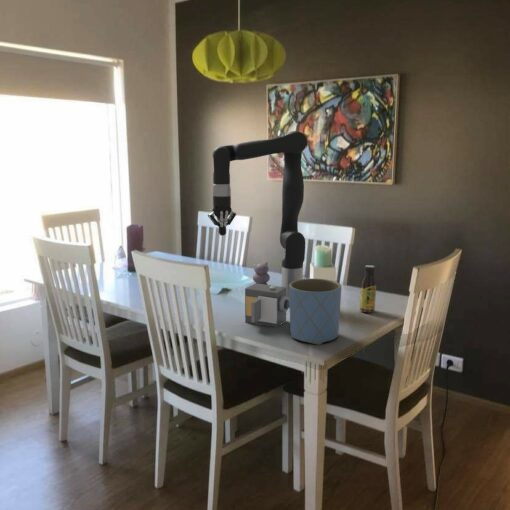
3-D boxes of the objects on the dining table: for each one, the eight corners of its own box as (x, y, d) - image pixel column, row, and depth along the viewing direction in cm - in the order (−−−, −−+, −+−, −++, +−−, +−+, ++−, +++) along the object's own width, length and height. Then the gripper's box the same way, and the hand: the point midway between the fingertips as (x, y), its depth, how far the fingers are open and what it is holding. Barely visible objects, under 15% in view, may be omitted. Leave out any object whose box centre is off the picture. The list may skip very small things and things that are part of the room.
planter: (308, 324, 220) (309, 275, 216) (349, 335, 208) (351, 284, 204) (278, 337, 206) (278, 285, 202) (320, 350, 194) (322, 295, 190)
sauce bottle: (367, 314, 232) (369, 268, 227) (356, 310, 237) (358, 265, 233) (378, 312, 235) (380, 266, 231) (367, 308, 240) (369, 263, 236)
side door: (251, 324, 214) (251, 300, 212) (259, 320, 219) (258, 295, 217) (269, 328, 210) (269, 302, 208) (277, 323, 216) (277, 298, 214)
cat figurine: (256, 289, 270) (256, 265, 267) (250, 285, 277) (250, 262, 275) (272, 287, 273) (272, 264, 271) (266, 283, 280) (266, 260, 278)
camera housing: (245, 322, 223) (244, 286, 220) (255, 315, 231) (255, 281, 228) (282, 328, 215) (282, 292, 212) (291, 321, 223) (292, 286, 220)
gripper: (211, 196, 226) (212, 238, 230) (239, 194, 233) (240, 235, 236) (203, 194, 233) (204, 235, 236) (231, 193, 239) (232, 232, 243)
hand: (222, 235), depth 236 cm, fingers closed
